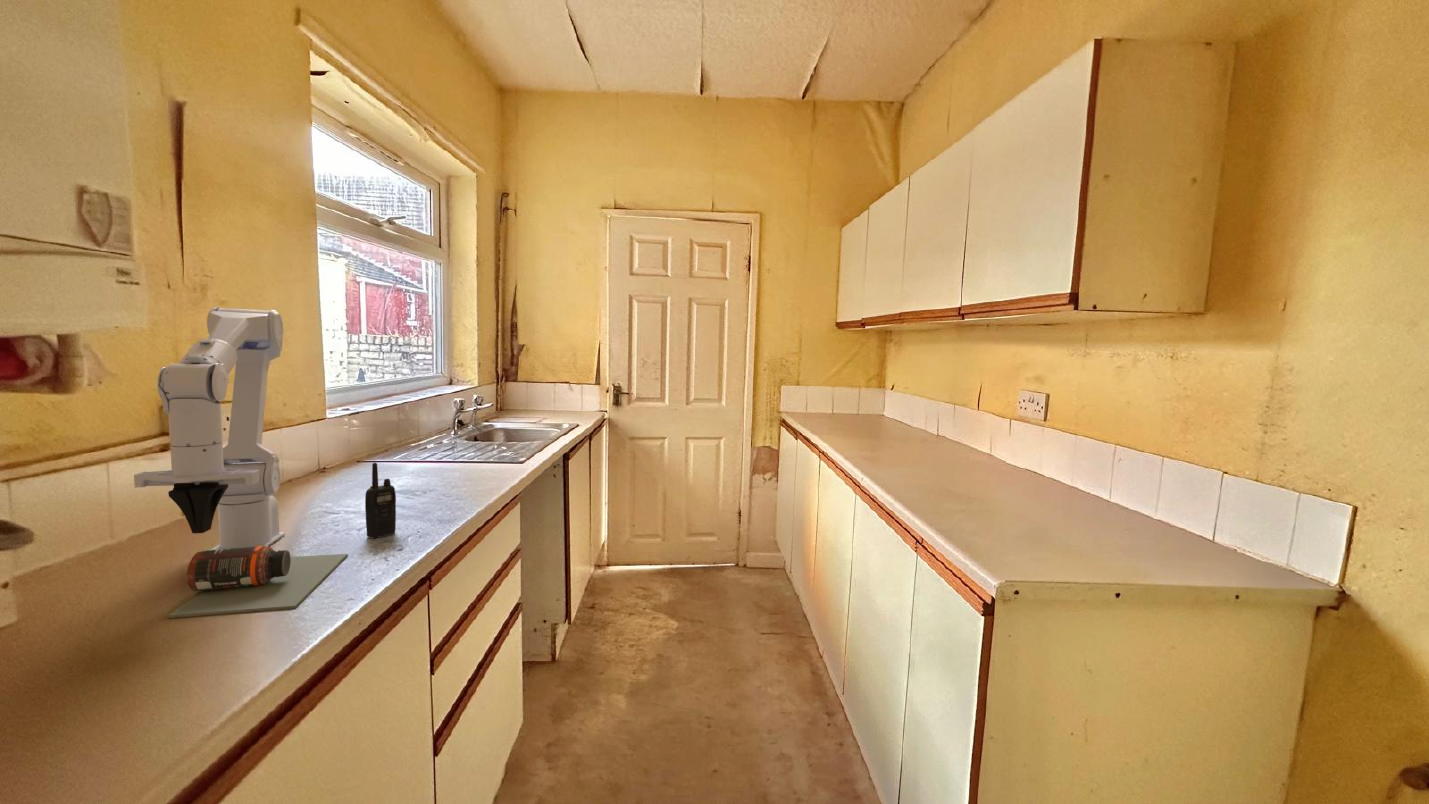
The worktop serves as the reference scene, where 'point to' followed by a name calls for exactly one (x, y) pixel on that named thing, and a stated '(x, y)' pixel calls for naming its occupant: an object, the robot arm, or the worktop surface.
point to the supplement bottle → (236, 567)
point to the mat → (265, 590)
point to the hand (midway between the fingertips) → (201, 531)
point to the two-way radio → (380, 507)
